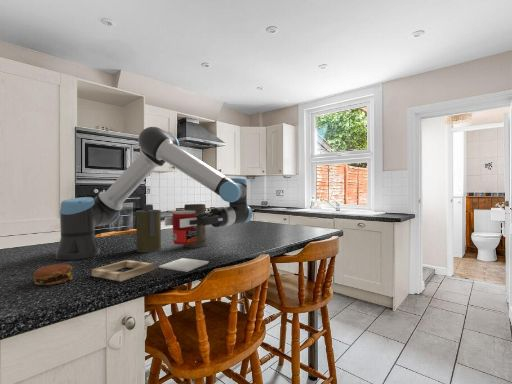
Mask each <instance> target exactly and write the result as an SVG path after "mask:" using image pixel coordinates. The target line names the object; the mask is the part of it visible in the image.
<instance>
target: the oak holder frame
mask: <svg viewBox="0 0 512 384" xmlns="http://www.w3.org/2000/svg"><path fill="white" fill-rule="evenodd" d="M124 268H128V269H129V268H131V269H129V270H126V271H122V272H121V271H119V270H121V269H124ZM152 271H155V263H151V262H146V261H137V260H130V259H129V260H128V259H125V260H122V261H118V262H114V263H110V264H107V265H102V266H100V267H96V268H91V277H96V278H101V279H106V280H112V281H115V282H123V281H127V280H130V279H132V278H135V277H137V276H140V275H143V274H147V273H149V272H152Z"/></svg>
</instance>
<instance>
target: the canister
mask: <svg viewBox="0 0 512 384" xmlns="http://www.w3.org/2000/svg"><path fill="white" fill-rule="evenodd" d="M161 213H162V210H161V209H154V205H153V204H151V203H149V204H146V203H145V204H144V206H143V209H139V210H135V215H136V227H135V228H136V251H135V252H137V253H153V252H159V251H161V250H162V242H161V241H162V235H161V234H162V227H161V225H162V222H161V219H162V217H161V215H162V214H161Z"/></svg>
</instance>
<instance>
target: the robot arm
mask: <svg viewBox="0 0 512 384" xmlns="http://www.w3.org/2000/svg"><path fill="white" fill-rule="evenodd" d="M137 141H138V145H139V147H140V148H139V149H140V153H139V155H138V156H136V158H135V159H134V160H133V161H132V163H130V164H129V166H127V168H125V170H124V171H123V172H122V173H121V174H120V175H119V177H118V178H117V179H116V180H115V181H114V182H113V183H112V184H111V185H110V187H108V189H107V190H105V191H99V193H98V194H97V195H96V196H95V197H94V198H93V197H90V196H84V197H83V196H82V197H74V198H68V199H63V200H62V201H61V203H60V207H59V208H60V210H59V214H60V215H59V217H60V221H59V222H60V223H59V224H60V239H59V241H58V245H57V248H56V251H55V259H56V260H60V261H75V260H81V259H88V258H93V257H97V256H99V255H100V252H101V249H100V246H99V244H98V243H99V242H98V241H97V238H96V236H95V235H96V234H95V233H96V232H95V227H102V226H107V225H110V224H112V223H115V222H116V221H117V220H118V219H119V217H120V215H121V211H122V210H123V208H124V207H123V203H124V202H125V201H126V200H127V199H128V198H129V197H130V196H131V195H132V194H133V193H134V191H135V190H136V189H137V188H138V187H139V186H140V185H141V184H142V183H143V182H144V180H145V181H146V178H147V177H148V176H149V175H150V174H151V173H152V172H153V171H154V170H155V169H156V168H157V167H163V166H164V165H165V163H166V164H169V165H170V166H172V167H174V168H175V169H176V170H179V171H180V172H182V173H183V174H185V175H186V176H188V177H190V178H191V179H193V180H194V181H196V182H197V183H199V184H200V185H202V186H204V187H205V188H207V189H209V190H210V191H211V192H213V193H215V194H216V195H217V196H219V197H220V198H221V200H223V201H224V202H227V203H229V205H228V206H221V207H213V208H211V210H210V211H209V212H205V213H204V214H197V215H196V218H187V219H180V228H183V227H190V226H197V224H198V225H199V226H200V225H204V226H205V227H206V226H210V225H211V226H212V227H213V228H220V227H226V228H228V227H229V226H232V225H241V224H242V225H243V224H246V223H248V222H250V221H251V220H252V218H253V211H252V208H251V207H250V206H249V205H248V201H247V200H248V199H247V198H248V196H247V195H248V194H247V190H248V185H247V179H246V178H245V177H231V178H229V177H227V176H226V175H224V174H222V173H221V172H219V171H218V170H216V169H215V168H213V167H211V166H210V165H208V164H207V163H205V162H204V161H202V160H200V159H198V158H197V157H196V156H194V155H192V154H191V153H189V152H187V151H186V150H184V149H182V148H181V147H180V142H179V140H178V138H177V137H176V136H175V135H174V134H172V132H169V131H166V130H164V129H162V128H160V127H158V126H149V127H146V128H144V129H143V130H142V131H141V132H140V134H139V136H138V140H137ZM201 215H202V216H201ZM164 226H165V227H166V226H173V216H172V217H171V216H170V217H169V216H168V217H164Z"/></svg>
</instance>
